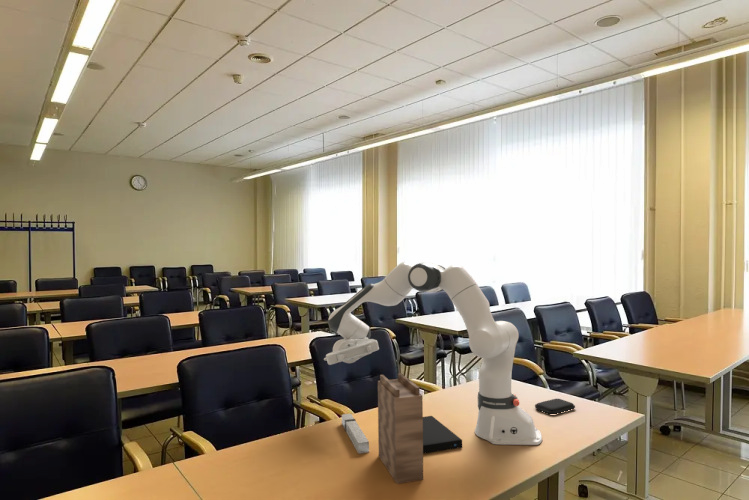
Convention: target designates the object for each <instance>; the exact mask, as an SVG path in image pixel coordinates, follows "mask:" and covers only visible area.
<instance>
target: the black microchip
mask: <svg viewBox="0 0 749 500" xmlns="http://www.w3.org/2000/svg"><path fill="white" fill-rule="evenodd" d="M574 408H576V405H575V404H574V403H572V402H570V401H567V400H564V399H562V398H552V399H548V400H545V401H544V400H543V401H541V402H538V403H535V405H534V409H536V411H538V410H540V411H539V412H541V411H543V412H545V413H544V414H546V413H548V414H557V413H561V412H564V411H568V410H571V409H574ZM574 410H575V409H574ZM543 412H542V413H543ZM568 412H569V411H568ZM548 414H547V415H548ZM561 414H562V413H561ZM557 415H558V414H557Z"/></svg>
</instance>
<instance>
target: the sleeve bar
mask: <svg viewBox="0 0 749 500" xmlns="http://www.w3.org/2000/svg"><path fill="white" fill-rule="evenodd" d="M341 425H342V426H343V429H344V431H345V432H346V434H347V436H348V437H349V439H350V441H351V443H352V445H353V447H354V448H355V450H356V452H357V454H366V453H367V454H368V453H369V452H370V441H369V440H368V439H369V438H367V437H366V435H365V433H364V432H363V430H362V428H361V427H360V426H359V424H358V422H357V420H356V418H354V416H353V414H352V413H344V414H341Z"/></svg>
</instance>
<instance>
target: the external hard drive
mask: <svg viewBox="0 0 749 500" xmlns="http://www.w3.org/2000/svg"><path fill="white" fill-rule="evenodd" d="M461 448H463V439H461V438H460V437H459V436H458V435H456V434H455V433H454V432H453V431H451V429H449V428H448V427H447V426H445V425H444V424H443V423H442V422H440V421H439V420H437V419H436V418H435V417H434V416H433V415H427V416H423V455H424V454H430V453H431V454H432V453H438V452H442V451H448V450H456V449H461Z"/></svg>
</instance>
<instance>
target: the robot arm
mask: <svg viewBox="0 0 749 500" xmlns="http://www.w3.org/2000/svg"><path fill="white" fill-rule="evenodd" d="M413 289H414V290H415V291H418V292H424V293H440V292H442V291H444V292H445V293H446V294H447V296H448V297H449V299H450V300H451V302H452V304H453V305H454V307H455V308H456V310H457V311H458V313H459V315H460V316H461V318H462V321H463V323H464V326H465V328H466V331H467V334H468V346H469V348H470V350H471V353H472V354H473V355H475V356H476V357H478V358H480V359H482V360H481V361H482V362H481V365H480V367H479V370H478V392H477V409H478V412H477V414H478V415H477V421H476V425H475V429H474V434H475V435H476V436H477V437H479V438H481V439H484V440H486V441H488V442H489V443H491V444H493V445H505V446H506V445H508V446H511V445H512V446H513V445H514V446H515V445H517V446H518V445H521V446H522V445H523V446H530V445H531V446H533V445H534V446H538V445H540V444H541V443H542V441H543V437H542V436H543V435H542V433H541V431H540V430H539V429H538V428H536V426H535V422H534V419H533V417H532V416H531V414H530V413H528V412H527V411H525V410H524V409H523V408H522V407H520V400H519V399H518V396H517V395H516V394H514V393H512V371H513V366H514V365H513V364H514V360H515V353H516V346H517V343H518V341H519V338H520V337H519V335H520V333H519V330H518V328H517V327H516V326H515V325H514V323H512V322H510V321H505V320H496V321H495V319H494V316H493V314H492V312H491V308H490V305H491V304H490V302H489V300H488V298H487V296H485V294H484V292H483V291H482V289H481V288H480V286H479V285H478V284H477V282H476V281H475V279H474V278H473V277H472V275H470V273H469V272H468V271H467V270H466V269H465V268H464V267H463V266H461V265H459V264H454V265H450V266H448V267H447V268H446V267H444V266H443V265H439V264H435V263H430V262H420V263H419V262H418V263H417V264H413V263H411V262H409V261H403V262H401V263H399V264H397V265H396V266H395V267H394V268H393V269H391V271H390V272H389V273H388V274H387V275H385V277H384V278H383V279H382V280H381V281H379V282H376V283H368V284H367V285H366V286H364V287H363V288H362V289H360V290H358V292H356V293H355V294H354V295H353V296H352V297H350V298H349V299H348V300H346V301H345V302H344V303H343V304H342V305H340V306H339V307H338V308H336V309H334V310H333V311H332V312H331V314H330V315H329V317H328V319H327V324H328V327H329V329H330V330H331V331H333V332H334V333H337V334H338V335H340V336H341V337H342V338H341V339H339V340H337V341H336V342H335V343H334V344H333V347H332V351H331V352H329V353H328V352H327V354H326V355H325V357H324V358H323V360H324V361H327V364H328V365H329V366H331V365H335V364H337V363H341V362H343V363H346V364H353V363H356V361H358V360H359V359H361V358H363V357H365V356H369V355H370V354H372V353H374V352H376V351H379V350H380V347H379V342H378V340H377V339H374V338H371V336H372V335H371V327H370V326H369V325H368V324H367V323H365V322H364V321H362V320H361V319H359V318H358V317H357V316H355V315H354V314H352V312H353V311H354V310H355V309H357V307H359V306H361V304H363V303H368V302H370V303H374V304H378V305H381V306H385V307H393V306H397V305H399V304H400V303H401V302H403V300H404V299H405V298H406V297H407V296H408V295H409V293H410V292H411V291H412V290H413Z"/></svg>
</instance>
